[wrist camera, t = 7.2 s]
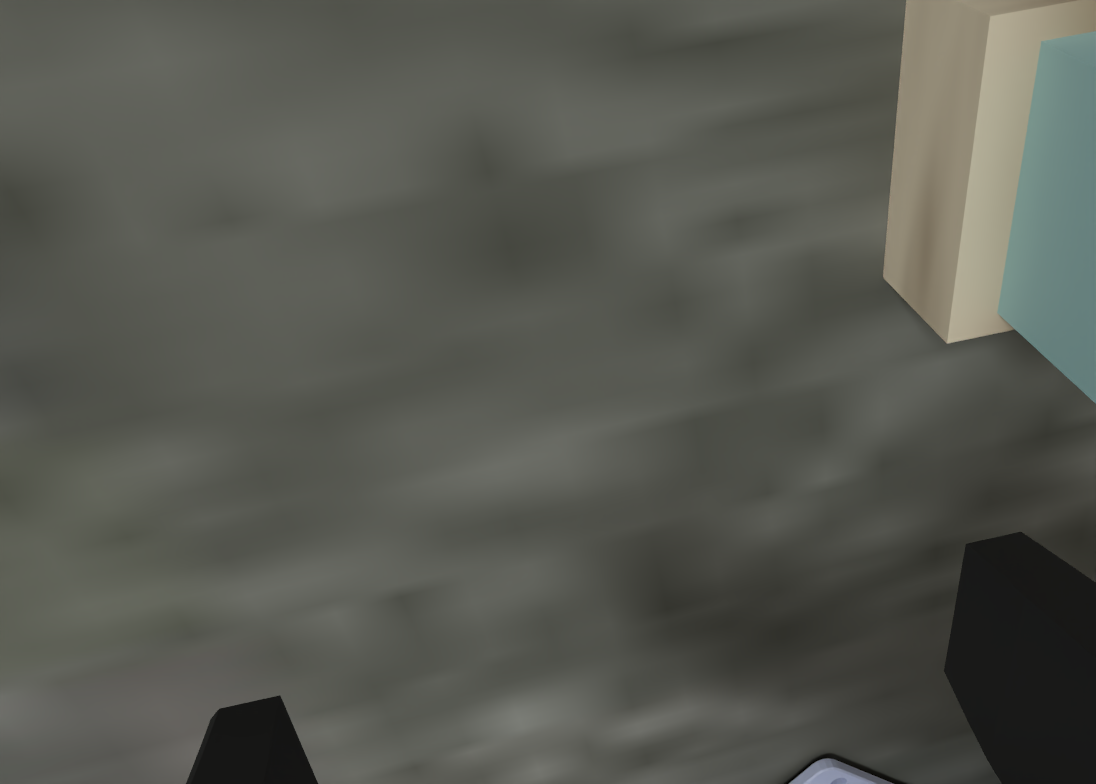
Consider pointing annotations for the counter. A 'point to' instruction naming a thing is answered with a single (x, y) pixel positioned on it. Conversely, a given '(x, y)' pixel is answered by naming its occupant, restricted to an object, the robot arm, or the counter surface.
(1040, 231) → the teal block
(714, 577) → the counter surface
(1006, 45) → the beech block
